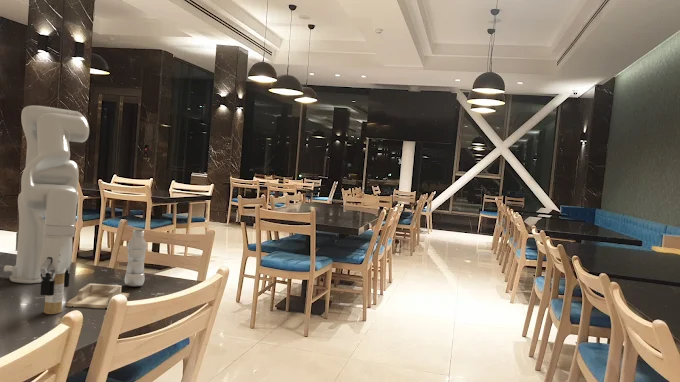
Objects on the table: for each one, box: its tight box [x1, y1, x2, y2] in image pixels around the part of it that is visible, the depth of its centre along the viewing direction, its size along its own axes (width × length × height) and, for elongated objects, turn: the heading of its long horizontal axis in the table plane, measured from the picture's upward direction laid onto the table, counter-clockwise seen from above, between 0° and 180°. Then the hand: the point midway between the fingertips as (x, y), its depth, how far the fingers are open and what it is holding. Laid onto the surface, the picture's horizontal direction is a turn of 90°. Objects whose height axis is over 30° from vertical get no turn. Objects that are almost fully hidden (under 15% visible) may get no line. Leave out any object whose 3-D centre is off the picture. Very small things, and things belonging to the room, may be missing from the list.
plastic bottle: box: [124, 229, 148, 288], centre depth 170 cm, size 6×7×20 cm
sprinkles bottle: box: [43, 268, 66, 315], centre depth 136 cm, size 5×5×14 cm
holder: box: [65, 283, 130, 309], centre depth 150 cm, size 14×14×4 cm
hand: (55, 290), depth 135 cm, fingers open, 9 cm apart
